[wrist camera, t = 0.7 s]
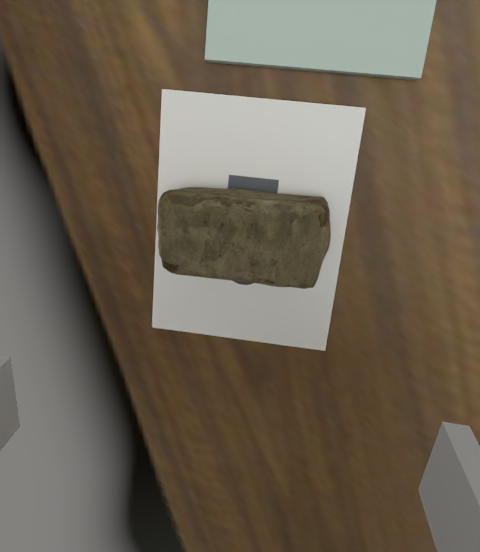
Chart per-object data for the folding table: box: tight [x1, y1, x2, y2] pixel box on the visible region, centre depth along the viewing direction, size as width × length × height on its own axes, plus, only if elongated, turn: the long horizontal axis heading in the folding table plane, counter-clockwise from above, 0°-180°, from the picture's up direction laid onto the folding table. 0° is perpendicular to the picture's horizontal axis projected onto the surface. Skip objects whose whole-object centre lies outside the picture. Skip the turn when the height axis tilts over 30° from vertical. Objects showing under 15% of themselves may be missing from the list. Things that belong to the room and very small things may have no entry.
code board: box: [152, 89, 366, 351], centre depth 33 cm, size 18×14×1 cm
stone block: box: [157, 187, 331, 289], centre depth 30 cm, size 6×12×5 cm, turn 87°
